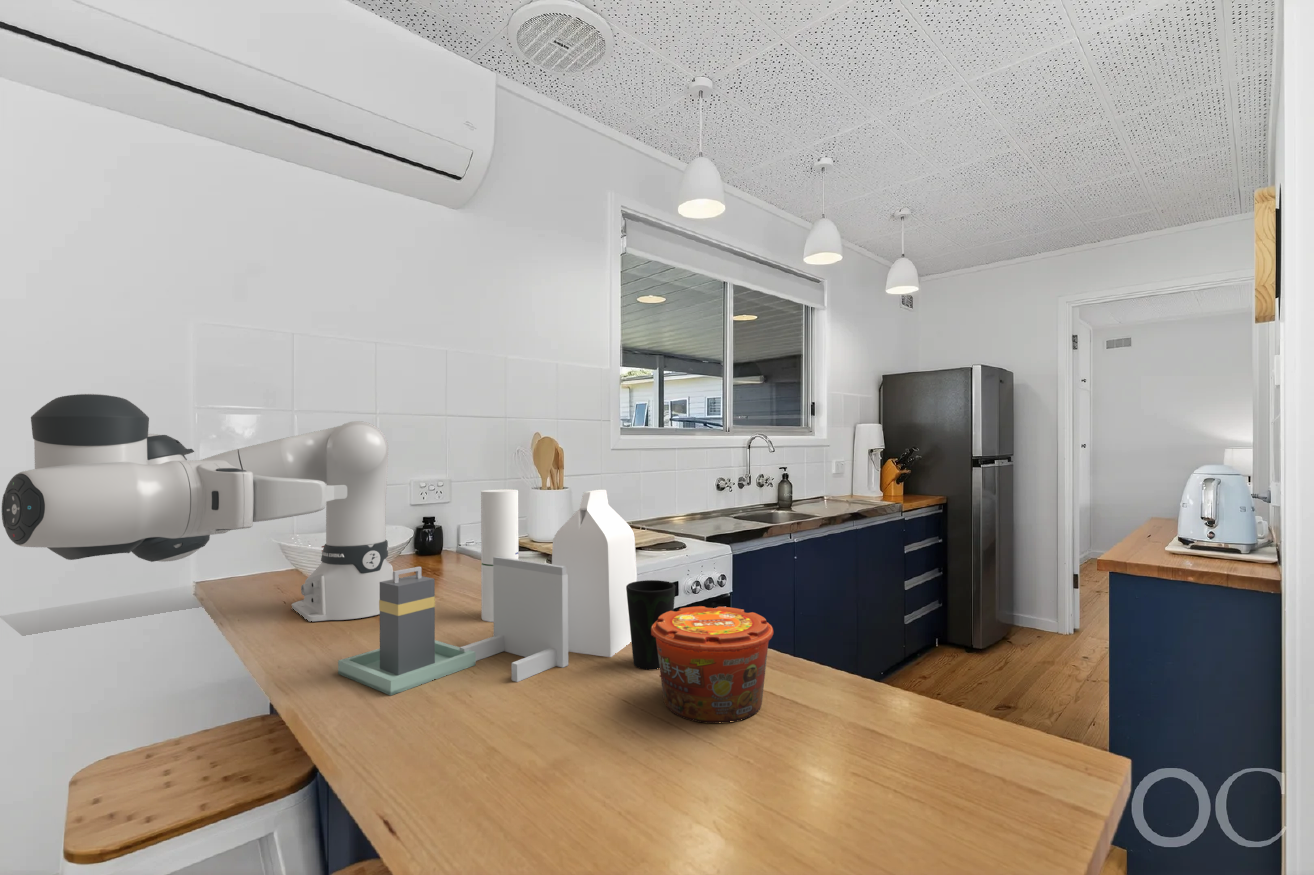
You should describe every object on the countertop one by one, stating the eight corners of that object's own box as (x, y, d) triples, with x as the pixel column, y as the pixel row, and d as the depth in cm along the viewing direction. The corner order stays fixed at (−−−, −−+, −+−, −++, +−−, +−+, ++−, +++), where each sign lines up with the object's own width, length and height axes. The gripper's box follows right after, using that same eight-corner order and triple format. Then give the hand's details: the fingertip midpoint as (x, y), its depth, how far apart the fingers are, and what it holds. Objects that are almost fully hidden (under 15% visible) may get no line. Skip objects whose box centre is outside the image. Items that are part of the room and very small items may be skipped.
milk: (610, 657, 97) (609, 494, 98) (548, 648, 102) (547, 492, 102) (640, 635, 109) (639, 489, 109) (583, 628, 113) (582, 487, 113)
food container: (687, 741, 70) (686, 647, 70) (632, 691, 84) (632, 612, 84) (800, 714, 76) (799, 628, 76) (731, 672, 91) (730, 599, 91)
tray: (338, 673, 91) (338, 660, 91) (422, 648, 102) (422, 636, 102) (390, 695, 83) (390, 680, 83) (475, 665, 94) (475, 652, 94)
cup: (652, 651, 100) (651, 577, 100) (686, 662, 95) (685, 585, 95) (616, 663, 95) (615, 585, 95) (650, 676, 89) (650, 594, 89)
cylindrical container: (523, 612, 124) (522, 489, 125) (511, 622, 117) (511, 491, 117) (489, 611, 125) (489, 489, 125) (475, 621, 118) (475, 491, 118)
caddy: (379, 668, 92) (379, 570, 92) (416, 657, 97) (415, 564, 97) (398, 676, 89) (398, 574, 89) (435, 663, 94) (435, 567, 94)
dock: (454, 661, 96) (453, 564, 96) (499, 646, 103) (498, 556, 103) (523, 684, 87) (523, 576, 87) (568, 665, 94) (567, 566, 94)
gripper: (175, 518, 78) (291, 509, 89) (242, 530, 66) (366, 517, 77) (175, 469, 78) (291, 466, 89) (242, 472, 66) (366, 468, 77)
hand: (326, 490), depth 83 cm, fingers open, 8 cm apart
